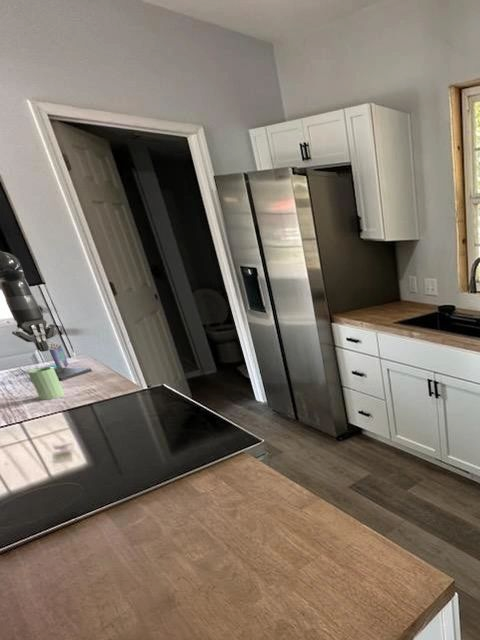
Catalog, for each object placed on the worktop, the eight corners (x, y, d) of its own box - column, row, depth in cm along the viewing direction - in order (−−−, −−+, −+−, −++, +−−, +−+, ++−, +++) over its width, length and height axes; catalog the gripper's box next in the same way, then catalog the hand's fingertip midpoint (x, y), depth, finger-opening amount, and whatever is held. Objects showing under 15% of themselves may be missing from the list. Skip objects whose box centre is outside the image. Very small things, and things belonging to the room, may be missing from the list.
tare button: (45, 370, 164) (43, 366, 163) (53, 368, 166) (51, 364, 166) (51, 370, 163) (49, 366, 163) (59, 368, 166) (57, 364, 165)
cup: (35, 399, 142) (22, 372, 138) (54, 393, 148) (43, 366, 144) (50, 400, 141) (37, 372, 138) (69, 393, 147) (58, 367, 143)
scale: (32, 380, 161) (29, 373, 160) (63, 370, 171) (60, 364, 170) (62, 380, 160) (59, 373, 158) (92, 371, 170) (89, 364, 169)
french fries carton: (65, 369, 173) (54, 344, 169) (55, 370, 172) (44, 345, 168) (69, 363, 180) (59, 340, 176) (60, 365, 178) (49, 341, 175)
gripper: (36, 304, 162) (55, 346, 169) (-7, 310, 150) (15, 356, 156) (52, 304, 161) (71, 346, 168) (11, 310, 149) (32, 356, 155)
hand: (44, 350), depth 162 cm, fingers closed
